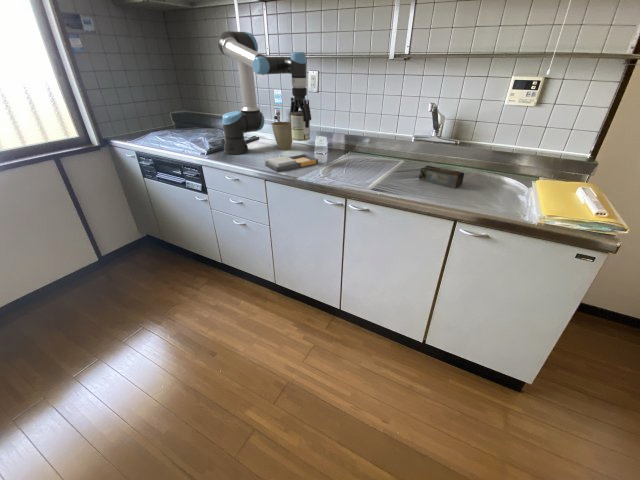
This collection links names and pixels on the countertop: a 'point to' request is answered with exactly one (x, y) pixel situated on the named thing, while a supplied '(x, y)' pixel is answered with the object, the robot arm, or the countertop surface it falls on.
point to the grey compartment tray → (290, 162)
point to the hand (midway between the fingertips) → (300, 132)
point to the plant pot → (283, 134)
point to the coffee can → (298, 127)
